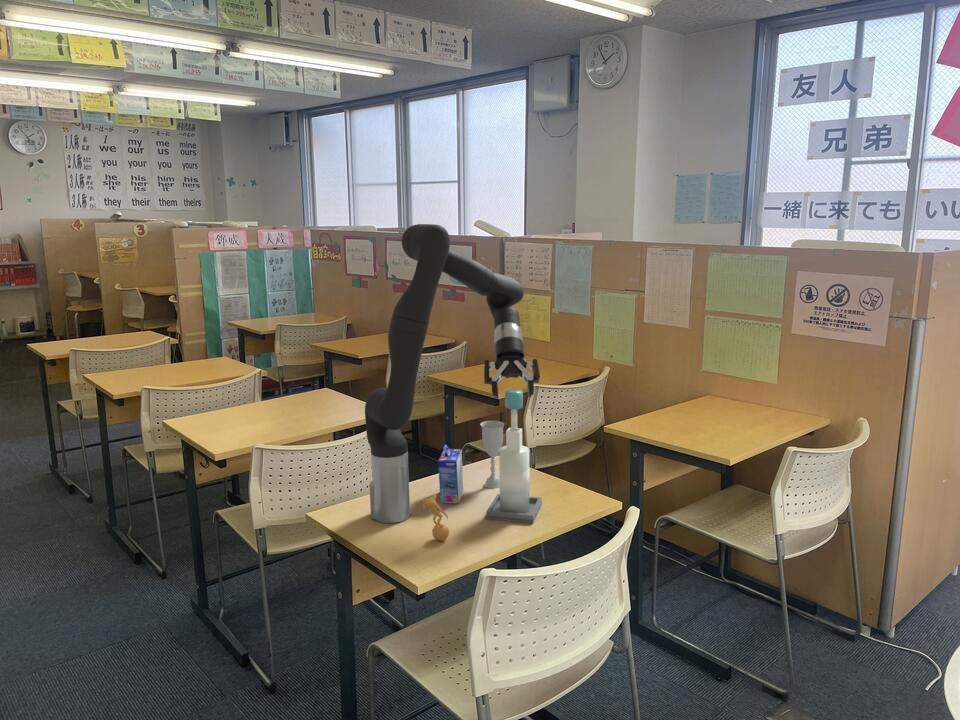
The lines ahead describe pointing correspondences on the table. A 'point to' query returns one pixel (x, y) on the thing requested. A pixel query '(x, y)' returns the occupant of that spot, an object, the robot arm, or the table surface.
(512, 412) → the pump plunger
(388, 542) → the table surface
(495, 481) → the chalice
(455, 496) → the ink cartridge box
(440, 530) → the figurine
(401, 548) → the table surface
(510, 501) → the pump bottle
